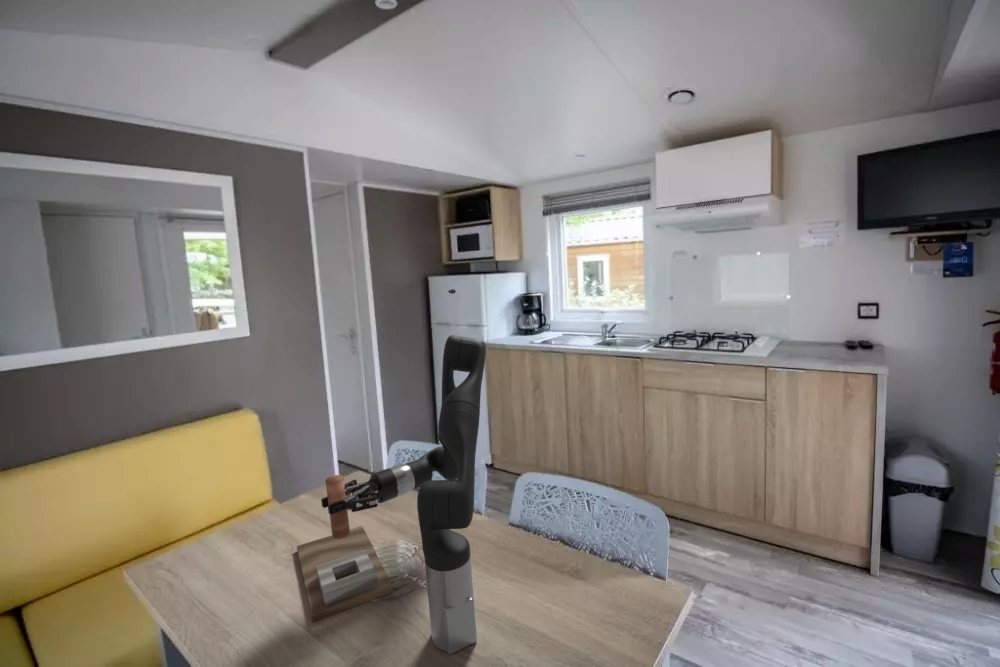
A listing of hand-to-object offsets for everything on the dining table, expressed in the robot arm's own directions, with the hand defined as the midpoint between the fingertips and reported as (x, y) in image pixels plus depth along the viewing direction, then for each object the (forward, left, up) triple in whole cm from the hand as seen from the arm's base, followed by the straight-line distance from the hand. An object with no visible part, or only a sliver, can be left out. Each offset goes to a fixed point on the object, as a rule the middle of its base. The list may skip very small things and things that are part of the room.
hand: (325, 506), depth 110 cm
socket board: (+8, -3, -22) cm, 24 cm away
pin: (0, -3, -8) cm, 8 cm away
